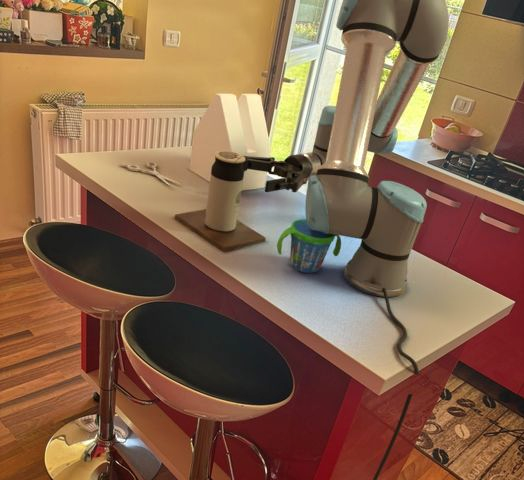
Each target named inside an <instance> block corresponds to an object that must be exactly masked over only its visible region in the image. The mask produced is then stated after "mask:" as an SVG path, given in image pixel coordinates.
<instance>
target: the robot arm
mask: <svg viewBox="0 0 524 480" xmlns="http://www.w3.org/2000/svg"><path fill="white" fill-rule="evenodd" d="M449 16H450V15H449V10H448V5H447V2H446V0H342V3H341V6H340V10H339V12H338V15H337V20H336V23H335V25H336V28H337V29H338V30H339V31H342V32H341V38H340V41H341V43H342V44H343V46H344V48H345V55H344V61H343V66H342V71H341V77H340V82H339V88H338V93H337V98H336V104H335V105H326V106H324V107H323V108H322V110H321V114H320V118H319V121H318V125H317V129H316V134H315V138H314V143H313V147H312V151H311V152H303V153H298V154H291V155H289V156H287V157H286V158H285V159H283V160H276V158H275V157H274V156H273V157H272V156H270V157H269V158H265V157H252V156H244V157H245V161H244V162H243V169H244V171H247V169H251V170H258V171H264V172H267V174H268V175H272V176H277V177H280V178H275V179H271V180H270V179H269V180H266V182H265V187H264V192H265V193H271V192H278V191H283V190H286V191H290V190H291V192H292V193H297V192H299V190H300V188H301V187H303V185H304V186H305V185H306V186H307V187H306V188H307V189H306V192H305V193H306V194H305V206H304V207H305V208H304V209H305V219H306V222H307V225H308V227H309V228H310V229H312V230H316V231H320V232H324V233H325V234H328V233H329V234H335V235H339V236H340V237H347V238H353V239H358V240H361V242H360V244H359V246H358V248H357V250H356V251H355V252H354V253H353V255H352V258H351V259H349V261H347V263H346V265H345V268H344V271H343V276H344V278H345V280H346V282H348V284H350V285H351V286H352V287H354V288H355V289H356V290H359V291H361V292H363V293H366V294H368V295H373V296H376V297H381V298H384V301H385V306H386V310H387V313H388V316H389V317H390V319H391V320H392V321H393V322H394V323H395V324H396V325H397V326H398V327H399V328H400V330H401V332H402V337H401V338H400V339H399V341H398V342H397V345H396V349H397V352H398V354H399V355H400V356H401V357H403V358H404V359H406V360H407V361H409V363H411V365H412V367H413V371H414V372H413V373H414V374H415V375H416V376H419V375H420V371H419V367H418V363H417V362H416V361H415V359H414V358H413V357H411V356H410V355H408V354H407V353H406V352H404V351H403V350H402V345H403V344H404V342H405V340H406V339H407V337H408V332H407V329H406V327H405V326H404V324H403V323H402V322H401V321H400V320H399V319H398V318H397V317H396V316H395V315H394V313H393V311H392V308H391V303H390V299H389V298H394V297H398V296H401V295H402V294H403V293H404V292H405V290H406V287H407V285H408V260H409V257H410V254H411V252H412V250H413V247H414V244H415V242H416V239H417V237H418V236H417V235H418V234H419V231H420V228H421V226H422V223H423V222H424V218H425V214H426V210H427V207H428V204H427V201H426V199H425V197H424V196H423V195H421V193H419V192H418V191H416V190H415V189H413V188H410V187H409V186H406V185H404V184H402V183H400V182H397V181H392V180H381V181H380V182H379V183H378V185H377V187H372V186H369V185H368V184H369V179H370V176H369V174H368V173H367V170H365V164H366V160H367V154H368V152H370V153H373V154H381V155H390V154H391V153H393V151H394V149H395V147H396V144H397V142H398V141H397V140H398V136H399V131H398V129H397V128H396V127H397V125H398V123H399V121H400V120H401V118H402V116H403V114H404V112H405V110H406V108H407V107H408V104H409V103H410V101H411V99H412V97H413V96H414V94H415V92H416V90H417V88H418V86H419V84H420V82H421V80H422V78H423V77H424V75H425V73H426V72H427V69H428V68H429V65H430V64H433V63H434V62H436V60H437V59H438V58H439V57H440V54H441V53H442V51H443V49H444V47H445V44H446V41H447V39H448V34H449V28H450V27H449V26H450V17H449ZM397 42H399V51H398V53H397V56H396V58H395V60H394V62H393V65H392V66H391V68H390V71H389V73H388V75H387V78H386V80H385V82H384V84H383V87H382V89H381V91H380V87H381V84H382V83H381V82H382V77H383V72H384V67H385V61H386V57H387V55H388V54H389V53H390V52H391V51H393V50H394V49H395V47H396V43H397ZM379 92H380V93H379ZM272 169H273V170H272ZM413 395H414V393H408V394H407V396H406V399H405V403H404V406H403V408H402V411H401V414H400V417H399V419H398V422H397V425H396V427H395V429H394V432H393V434H392V437H391V439H390V442H389V443H388V446H387V448H386V451H385V452H384V455H383V457H382V458H381V461H380V464H379V466H378V468H377V470H376V472H375V474H374V476H373V479H372V480H378V478H379V476H380V474H381V472H382V470H383V468H384V466H385V464H386V461H387V459H388V457H389V455H390V453H391V451H392V449H393V447H394V444H395V442H396V439H397V437H398V435H399V433H400V430H401V427H402V425H403V422H404V420H405V417H406V415H407V412H408V409H409V407H410V404H411V400H412V397H413Z"/></svg>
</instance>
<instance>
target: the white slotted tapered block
mask: <svg viewBox="0 0 524 480" xmlns="http://www.w3.org/2000/svg"><path fill="white" fill-rule="evenodd" d="M203 113H204V114H203V115H202V116H201V118H200V119H199V122H198V124H197V125H196V127H195V129H194V131H193V133H192V143H191V153H190V161H189V170H190V171H191V172H193V173H194V174H196V175H197V176H199V177H201V178H202V179H204V180H206V182H209V183H210V177H211V168H212V165H213V164H214V162H215V156H214V153H215V152H217V151H231V152H236V153H239V154H241V155H243V156H252V157H265V158H269V157H271V154H272V148H271V143H270V138H269V132H268V126H267V121H266V117H265V111H264V106H263V101H262V96H261V95H260V94H258V93H241V94H240V96H239V97H238V98H237V95H236V94H233V93H215V95H214V96H213V98H212V99H211V101H210V103H209V105H208V107H207V108H206V109H205V112H203ZM267 175H268V172H264V171H258V170H251V169H247V171H244V177H243V183H242V190H241V192H243V191H250V190H256V189H263V188H264V189H265V186H266V181H267Z"/></svg>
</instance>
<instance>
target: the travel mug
mask: <svg viewBox="0 0 524 480" xmlns="http://www.w3.org/2000/svg"><path fill="white" fill-rule="evenodd" d="M214 156H215V162H214V164H213V165H212V168H211V177H210V182H209V186H208V194H207V202H206V208H205V209H206V217H205V224H206V225H207V226H208V227H210V228H211V229H213V230H217V231H231V230H233V229H235V227H236V221H237V220H238V213H239V208H240V202H241V195H242V191H243V190H242V183H243V177H244V169H243V162H244V161H245V157H244V156H243V155H241V154H239V153H236V152H231V151H217V152H215V153H214ZM241 190H242V191H241Z"/></svg>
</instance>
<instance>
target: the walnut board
mask: <svg viewBox="0 0 524 480" xmlns="http://www.w3.org/2000/svg"><path fill="white" fill-rule="evenodd" d="M206 209H207V208H203V209H198V210H192V211H187V212H182V213H175V214H174V219H175V220H176V221H178V222H179V223H180V224H181V225H183V226H185V227H186V228H188V229H189V230H191V231H192V232H194V233H195V234H197V235H198V236H199V237H202V238H203V239H204V240H206V241H207V242H209V243H210V244H212V245H213V246H214V247H215V248H217V249H219V250H221V251H222V252H223V253H224V252H228V251H233V250H236V249H237V250H238V249H242V248H245V247H249V246H254V245H257V244H261V243H264V242H266V236H264V235H262V234H261V233H259V232H257V231H256V230H254V229H252V228H251V227H249V226H248V225H246V224H244V223H243V222H241V221H240V220H238V219H237V221H236V227H235V229H233V230H231V231H217V230H213V229H211V228H210V227H208V226H207V225H206V224H205V217H206Z"/></svg>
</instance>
